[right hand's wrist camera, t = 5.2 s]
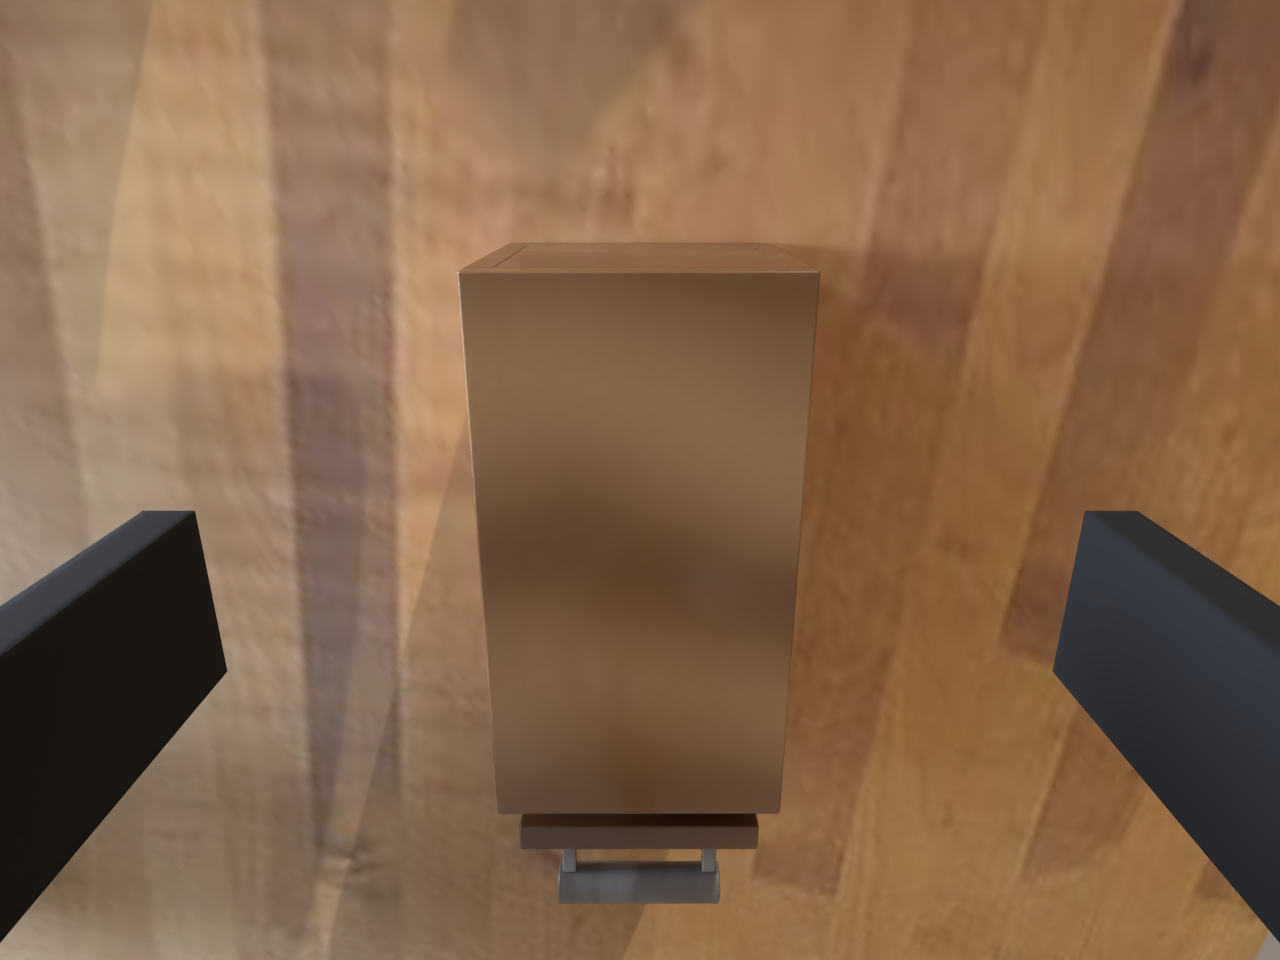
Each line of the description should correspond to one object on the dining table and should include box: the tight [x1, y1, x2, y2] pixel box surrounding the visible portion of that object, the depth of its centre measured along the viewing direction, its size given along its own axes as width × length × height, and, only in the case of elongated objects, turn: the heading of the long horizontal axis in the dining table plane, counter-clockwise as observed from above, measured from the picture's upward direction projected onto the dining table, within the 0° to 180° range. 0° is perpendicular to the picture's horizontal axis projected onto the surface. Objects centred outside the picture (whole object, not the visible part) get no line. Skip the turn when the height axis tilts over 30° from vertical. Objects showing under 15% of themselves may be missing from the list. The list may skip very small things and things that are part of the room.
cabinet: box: [457, 243, 820, 814], centre depth 33 cm, size 20×11×10 cm, turn 0°
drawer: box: [519, 814, 759, 904], centre depth 35 cm, size 25×10×9 cm, turn 0°
